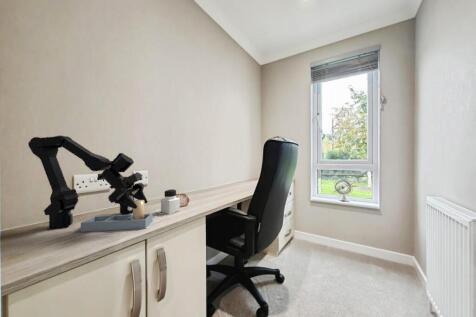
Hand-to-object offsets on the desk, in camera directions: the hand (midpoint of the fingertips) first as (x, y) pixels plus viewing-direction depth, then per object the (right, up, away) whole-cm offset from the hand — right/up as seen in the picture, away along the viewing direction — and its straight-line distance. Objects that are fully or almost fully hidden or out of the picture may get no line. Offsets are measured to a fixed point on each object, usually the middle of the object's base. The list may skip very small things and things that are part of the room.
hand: (142, 205), depth 81 cm
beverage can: (-18, -9, +19) cm, 27 cm away
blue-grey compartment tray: (-9, -9, -1) cm, 13 cm away
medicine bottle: (+5, -9, +21) cm, 23 cm away
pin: (-1, -8, 0) cm, 8 cm away
